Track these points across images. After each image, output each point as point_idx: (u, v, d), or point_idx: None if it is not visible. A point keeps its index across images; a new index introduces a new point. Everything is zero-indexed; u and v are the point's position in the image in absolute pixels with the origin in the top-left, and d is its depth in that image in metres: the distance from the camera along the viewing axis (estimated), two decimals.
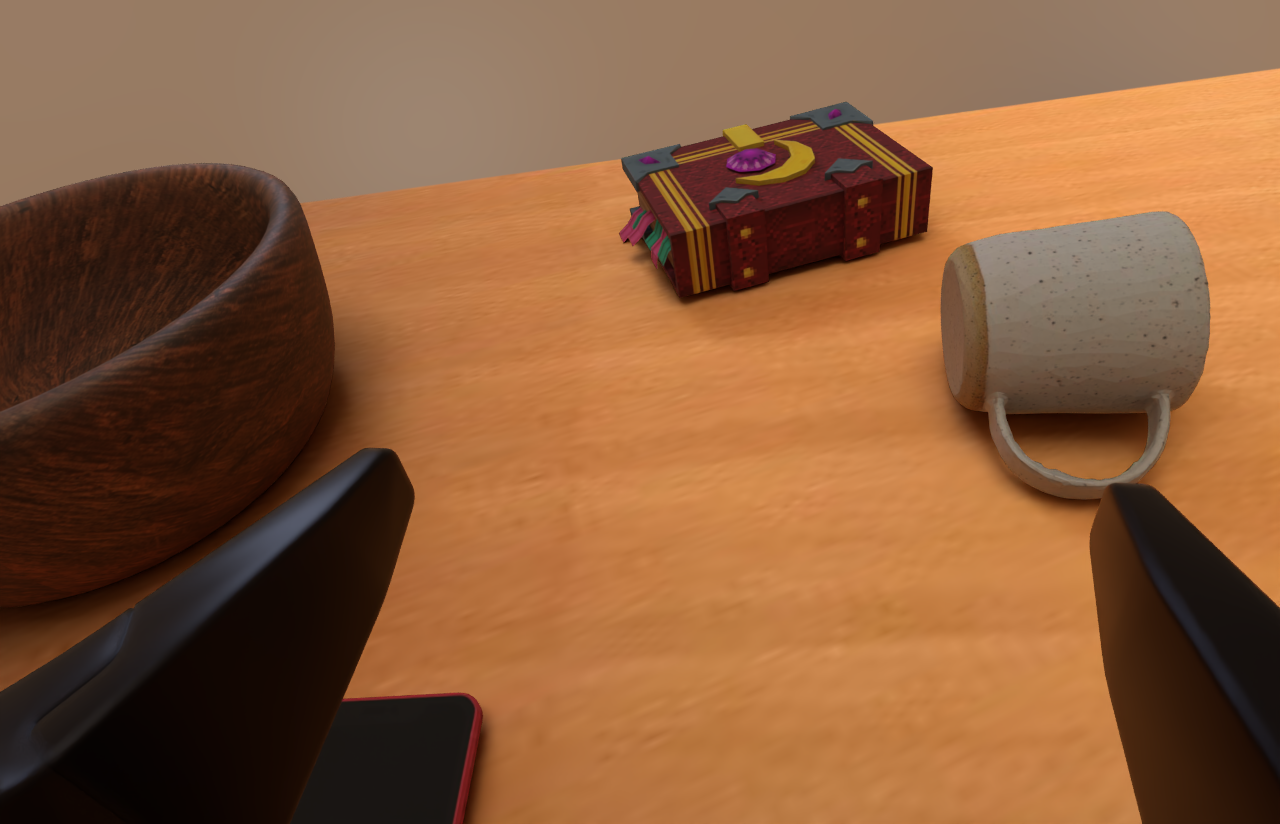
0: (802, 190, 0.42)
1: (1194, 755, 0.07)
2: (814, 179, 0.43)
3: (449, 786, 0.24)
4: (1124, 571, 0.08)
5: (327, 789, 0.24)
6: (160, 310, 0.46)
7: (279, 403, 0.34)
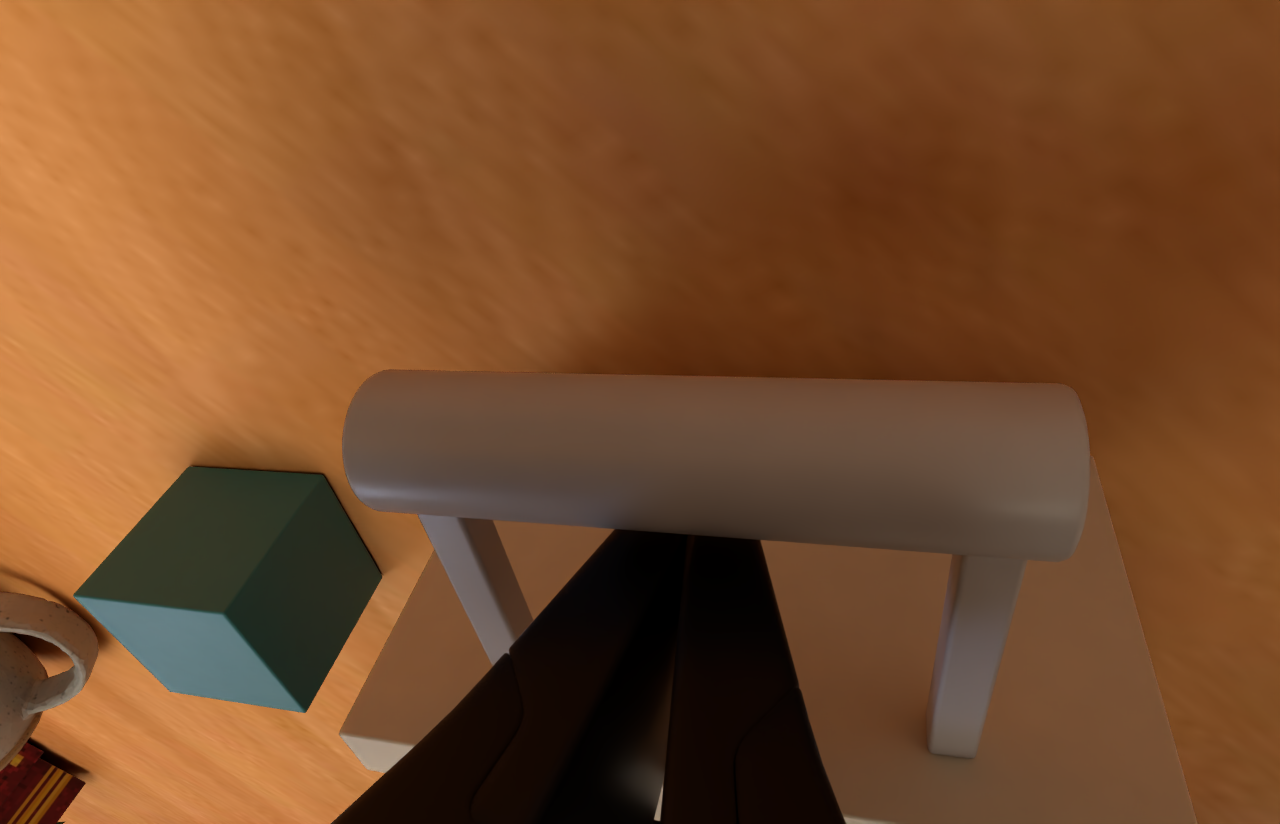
0: None
1: None
2: None
3: None
4: None
5: None
6: None
7: None
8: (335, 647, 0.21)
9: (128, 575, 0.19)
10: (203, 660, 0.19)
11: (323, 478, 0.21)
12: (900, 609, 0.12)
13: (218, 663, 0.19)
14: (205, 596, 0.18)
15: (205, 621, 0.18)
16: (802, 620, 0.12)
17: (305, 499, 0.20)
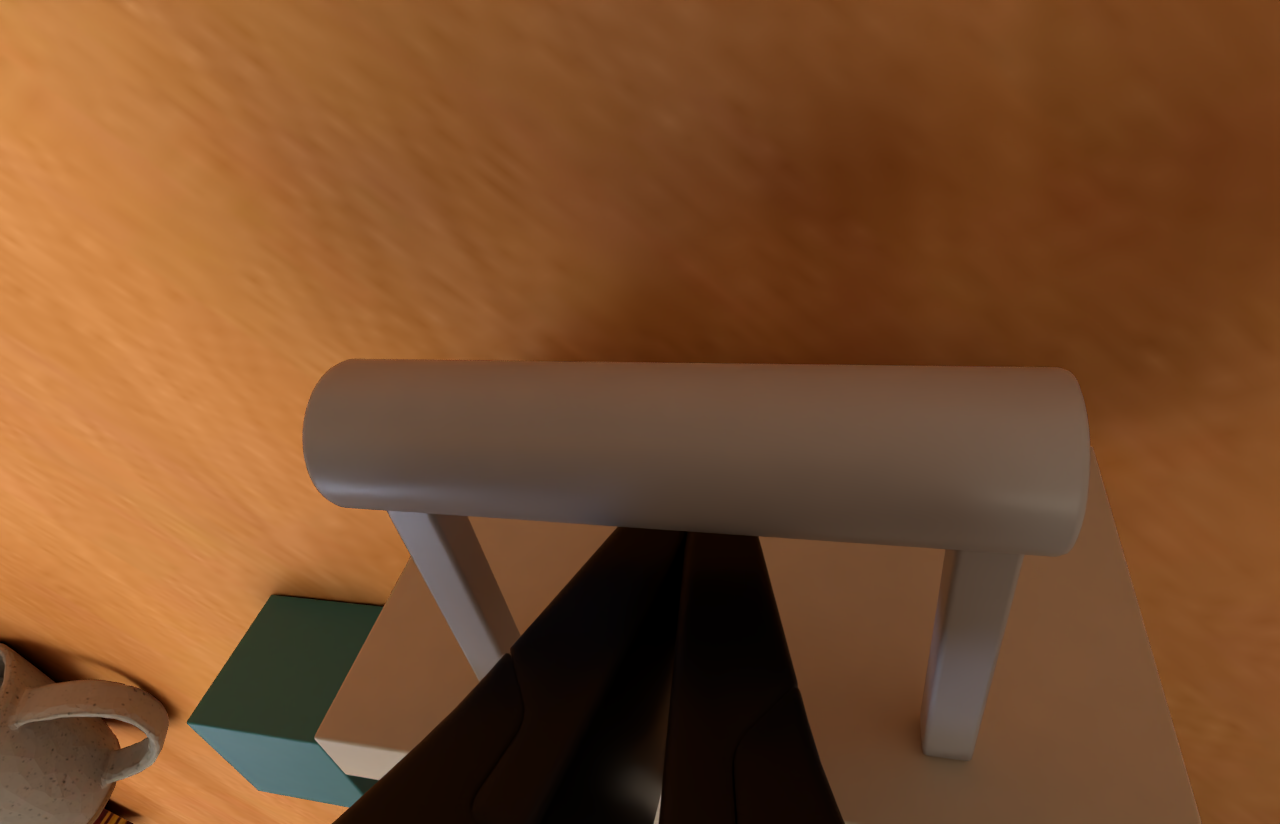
0: None
1: None
2: None
3: None
4: None
5: None
6: None
7: None
8: None
9: (232, 704, 0.22)
10: (294, 772, 0.23)
11: None
12: (894, 605, 0.12)
13: (307, 775, 0.23)
14: (301, 726, 0.21)
15: (301, 748, 0.21)
16: (792, 617, 0.12)
17: None
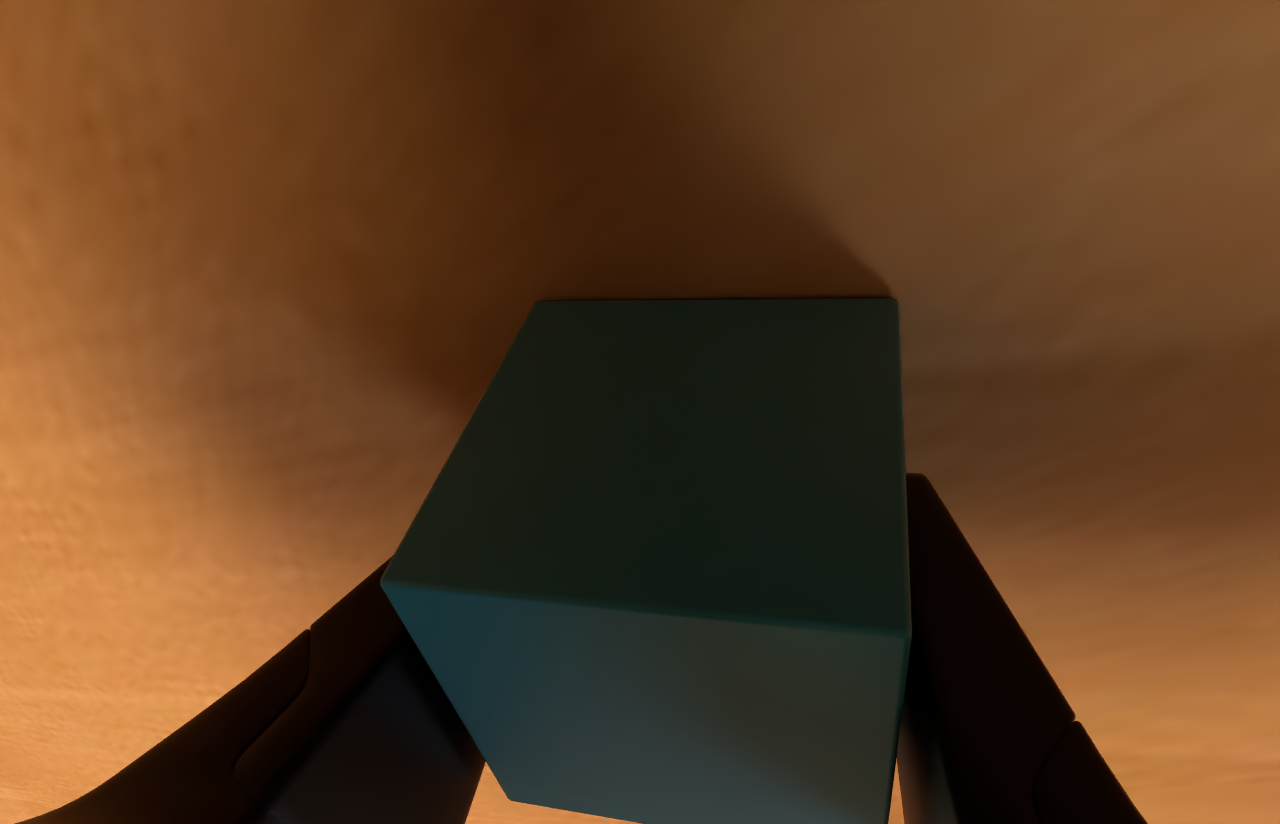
0: None
1: (911, 720, 0.07)
2: None
3: None
4: None
5: None
6: None
7: None
8: (867, 460, 0.07)
9: None
10: (661, 728, 0.07)
11: (539, 302, 0.10)
12: None
13: (660, 705, 0.07)
14: None
15: (443, 634, 0.07)
16: None
17: None
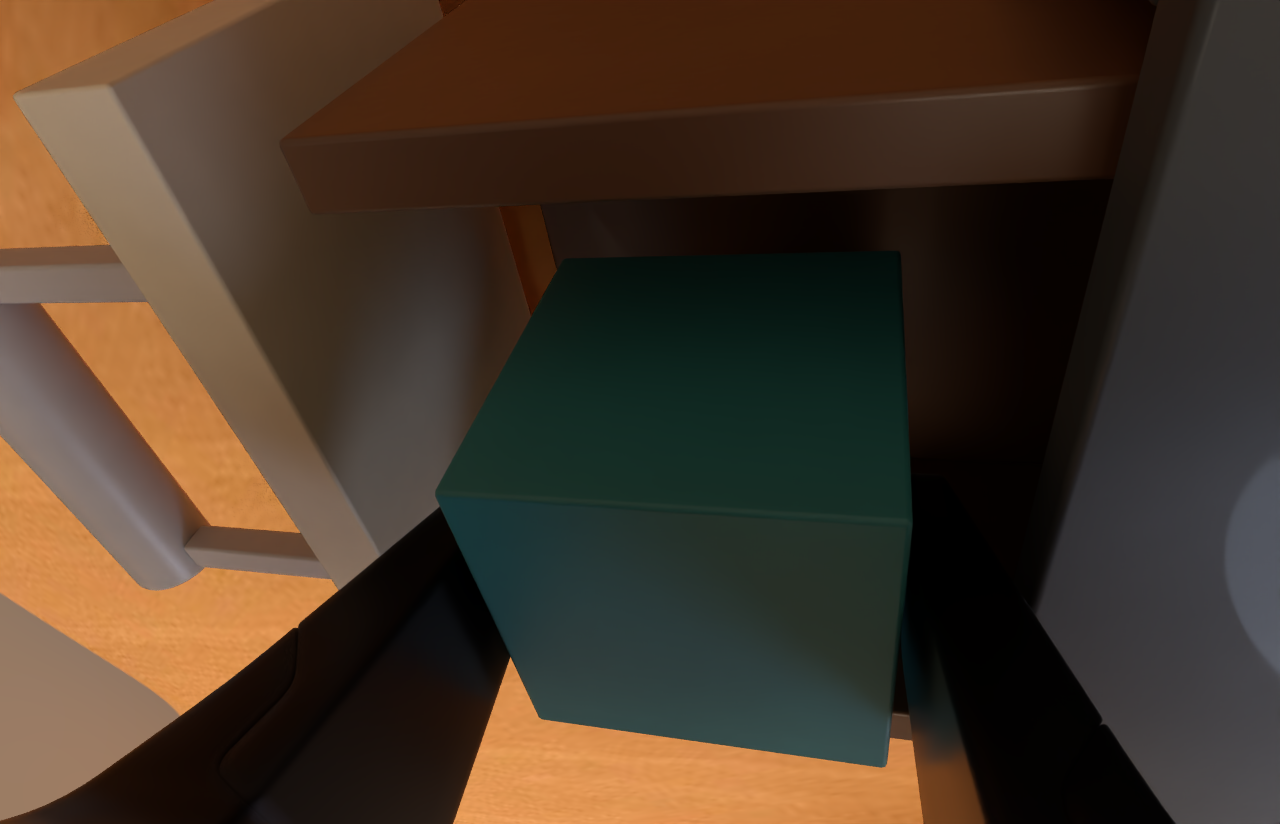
0: None
1: (933, 722, 0.07)
2: None
3: None
4: None
5: None
6: None
7: None
8: (872, 385, 0.08)
9: None
10: (685, 633, 0.08)
11: (567, 259, 0.11)
12: None
13: (686, 609, 0.08)
14: None
15: (489, 545, 0.08)
16: None
17: None
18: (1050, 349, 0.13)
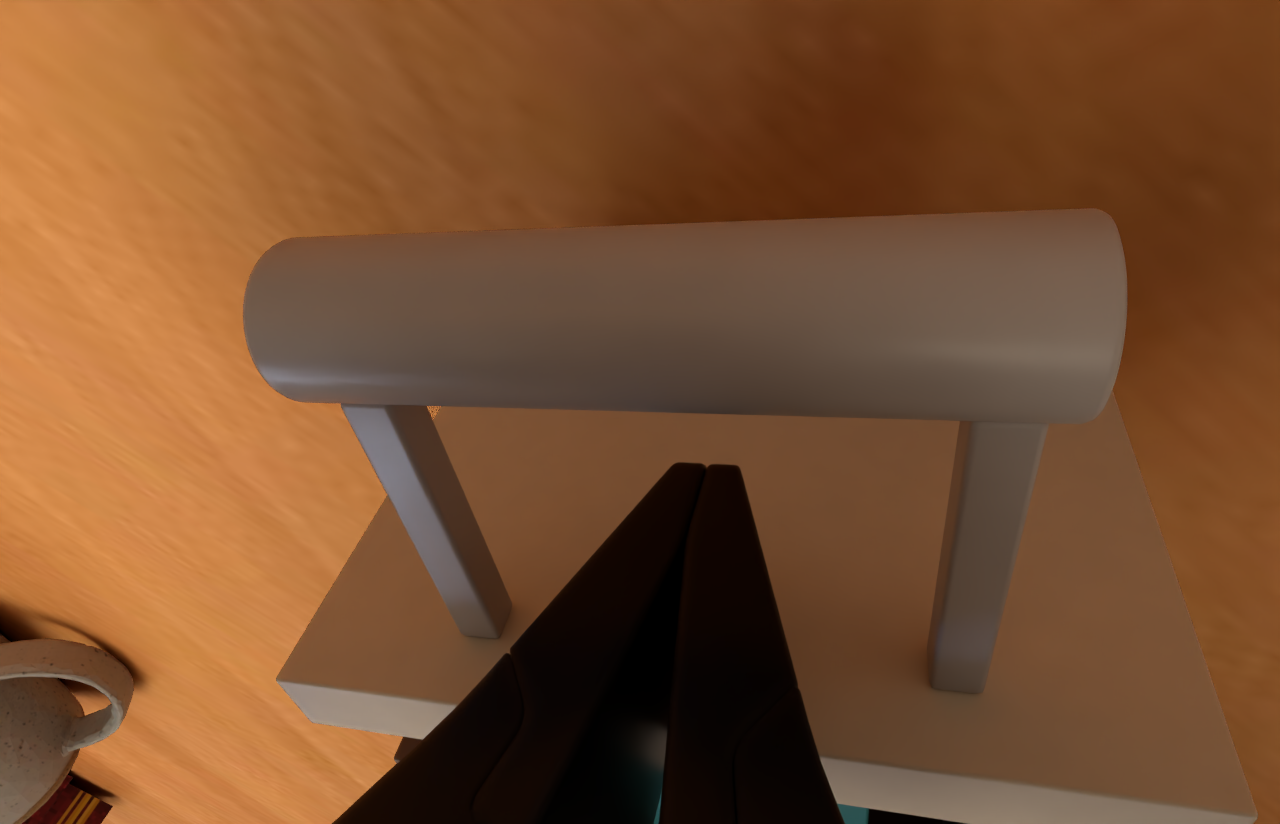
0: None
1: None
2: None
3: None
4: None
5: None
6: None
7: None
8: None
9: None
10: None
11: None
12: (898, 538, 0.11)
13: None
14: None
15: None
16: (790, 552, 0.11)
17: None
18: None
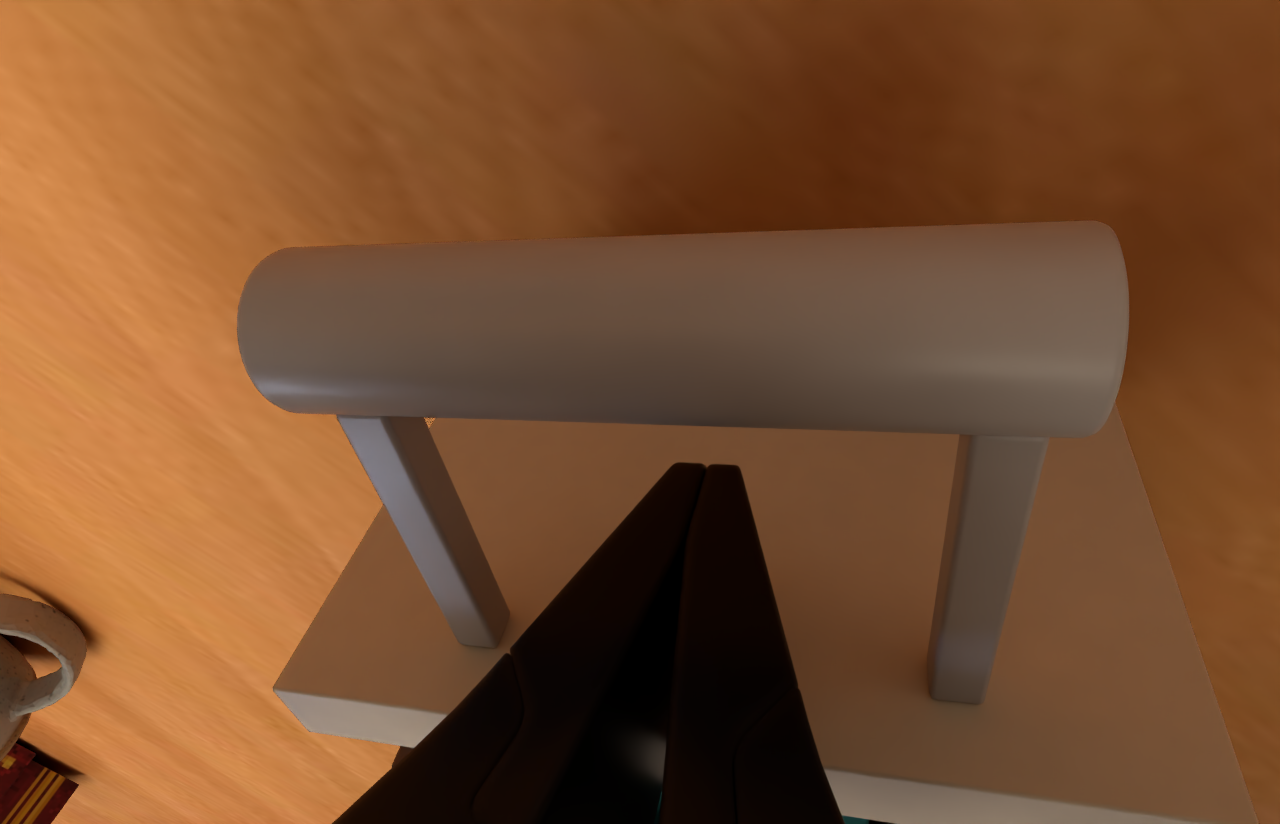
0: None
1: None
2: None
3: None
4: None
5: None
6: None
7: None
8: None
9: None
10: None
11: None
12: (898, 547, 0.11)
13: None
14: None
15: None
16: (789, 560, 0.11)
17: None
18: None
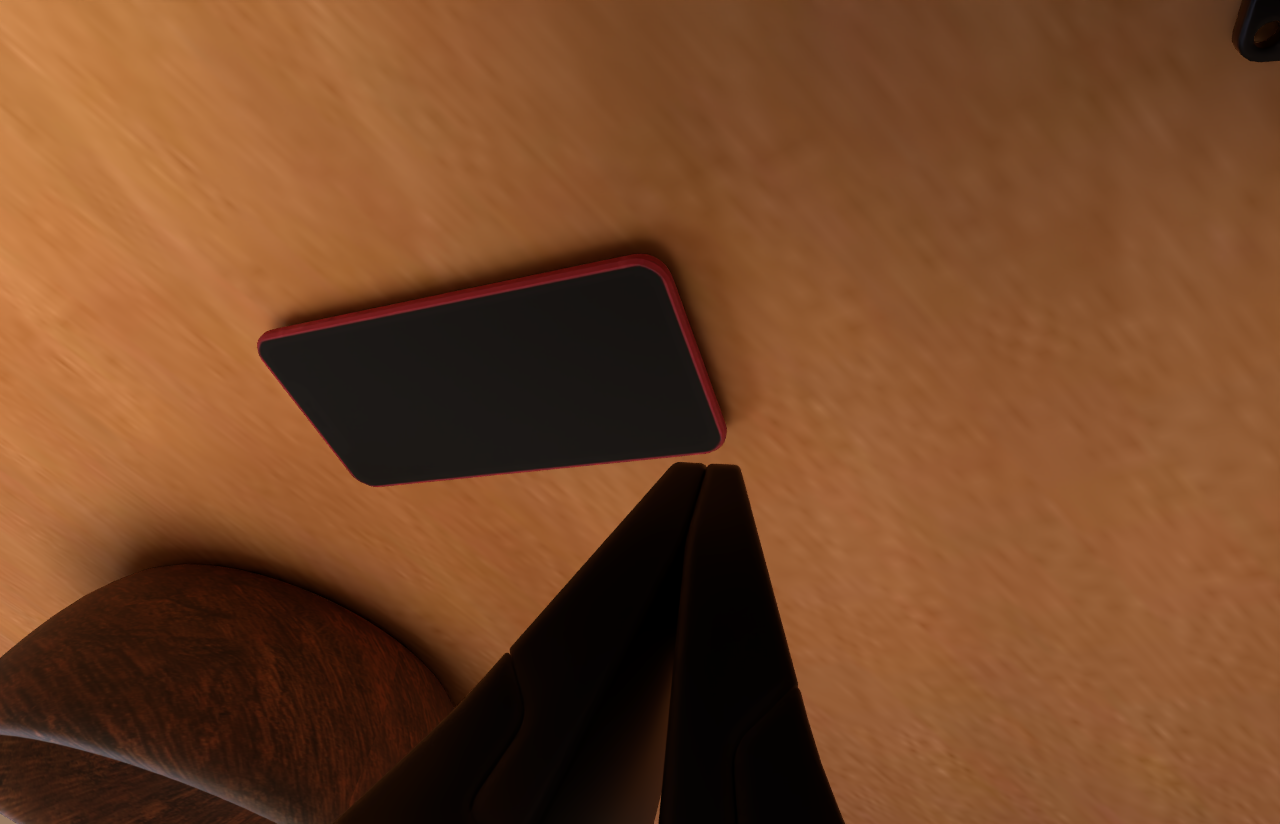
0: None
1: None
2: None
3: (324, 338, 0.25)
4: None
5: (386, 427, 0.28)
6: None
7: (145, 618, 0.34)
8: None
9: None
10: None
11: None
12: None
13: None
14: None
15: None
16: None
17: None
18: None
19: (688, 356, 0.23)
